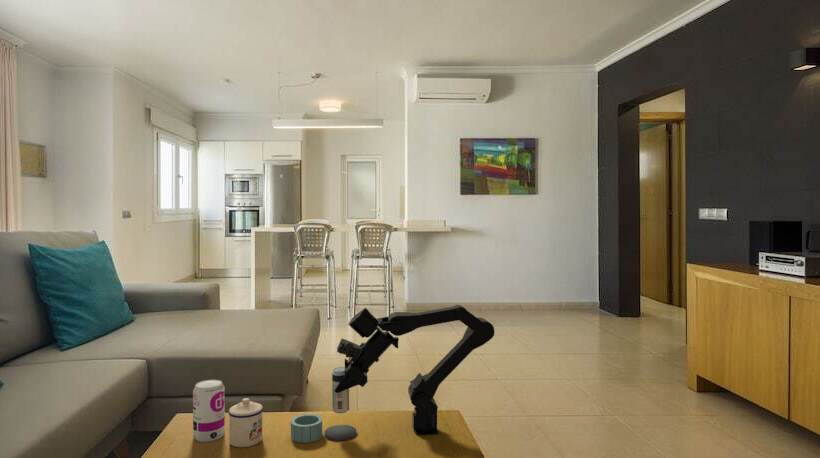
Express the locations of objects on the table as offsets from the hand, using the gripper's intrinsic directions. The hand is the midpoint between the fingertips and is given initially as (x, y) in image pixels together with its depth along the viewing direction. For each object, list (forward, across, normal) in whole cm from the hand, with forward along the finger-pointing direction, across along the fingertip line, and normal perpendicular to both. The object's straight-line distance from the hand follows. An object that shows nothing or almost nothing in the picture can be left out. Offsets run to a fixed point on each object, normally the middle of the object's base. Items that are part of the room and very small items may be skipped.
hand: (335, 388), depth 145 cm
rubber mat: (+8, 0, +10) cm, 13 cm away
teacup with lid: (+26, 0, -8) cm, 27 cm away
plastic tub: (+15, 0, +3) cm, 15 cm away
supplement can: (+34, -3, -16) cm, 38 cm away
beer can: (+4, 0, +6) cm, 7 cm away
